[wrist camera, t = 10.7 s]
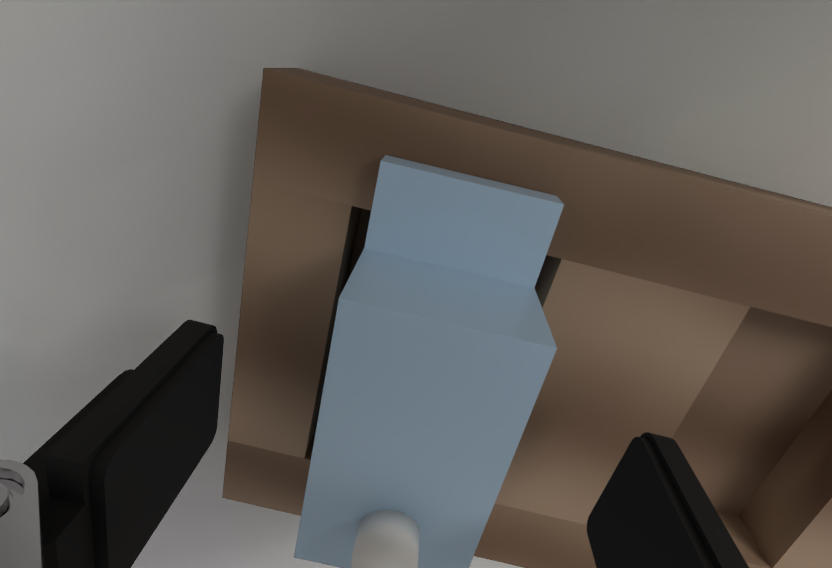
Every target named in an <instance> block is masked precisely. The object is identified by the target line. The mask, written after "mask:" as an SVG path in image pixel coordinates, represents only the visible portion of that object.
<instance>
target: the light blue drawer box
mask: <svg viewBox="0 0 832 568" xmlns="http://www.w3.org/2000/svg"><path fill="white" fill-rule="evenodd" d="M563 207H564V204H563V203H562V201H561V200H560V199H559V198H558V197H557V196H555V195H551V194H547V193H543V192H539V191H534V190H530V189H526V188H522V187H518V186H514V185H509V184H505V183H501V182H497V181H493V180H488V179H484V178H480V177H476V176H472V175H468V174H463V173H459V172H455V171H451V170H447V169H443V168H438V167H434V166H430V165H426V164H422V163H417V162H413V161H409V160H405V159H401V158H397V157H392V156H388V155H385V156H384V157H383V159H382V160H381V162H380V167H379V173H378V178H377V183H376V189H375V194H374V199H373V204H372V210H371V215H370V220H369V226H368V231H367V236H366V241H365V247H364V249H363V251H362V253H361V255H360V257H359V259H358V261H357V263H356V265H355V267H354V269H353V271H352V273H351V275H350V277H349V279H348V281H347V283H346V285H345V287H344V289H343V291H342V293H341V295H340V297H339V301H338V307H337V312H336V318H335V324H334V330H333V335H332V341H331V347H330V353H329V359H328V364H327V370H326V376H325V382H324V387H323V393H322V399H321V405H320V410H319V416H318V422H317V428H316V433H315V439H314V445H313V451H312V456H311V462H310V468H309V474H308V479H307V485H306V491H305V497H304V502H303V508H302V514H301V520H300V525H299V531H298V537H297V543H296V548H295V554H294V557H295V558H299V559H304V560H309V561H313V562H318V563H322V564H327V565H332V566H336V567H341V568H469V566H470V563H471V561H472V558H473V556H474V553H475V551H476V548H477V546H478V543H479V541H480V538H481V536H482V533H483V531H484V528H485V526H486V524H487V521H488V519H489V516H490V514H491V511H492V509H493V506H494V504H495V501H496V499H497V496H498V494H499V491H500V489H501V486H502V484H503V481H504V479H505V476H506V474H507V471H508V469H509V466H510V464H511V462H512V459H513V457H514V454H515V452H516V449H517V447H518V444H519V442H520V439H521V437H522V434H523V432H524V429H525V427H526V424H527V422H528V419H529V417H530V414H531V412H532V409H533V407H534V404H535V402H536V400H537V397H538V395H539V392H540V390H541V387H542V385H543V382H544V380H545V377H546V375H547V372H548V370H549V367H550V365H551V362H552V360H553V357H554V355H555V352H556V350H557V346H556V344H555V341H554V338H553V336H552V333H551V330H550V328H549V325H548V323H547V320H546V317H545V315H544V312H543V309H542V307H541V304H540V301H539V299H538V296H537V293H536V291H535V285H536V282H537V279H538V277H539V274H540V271H541V268H542V265H543V263H544V260H545V257H546V254H547V251H548V249H549V246H550V243H551V240H552V237H553V235H554V232H555V229H556V226H557V224H558V221H559V218H560V215H561V212H562V210H563Z"/></svg>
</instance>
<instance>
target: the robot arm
mask: <svg viewBox="0 0 832 568" xmlns="http://www.w3.org/2000/svg"><path fill="white" fill-rule="evenodd" d="M223 343H224V337H223V335H222V334H218V333H217V329H216V327H215V326H213V325H209V324H205V323H201V322H197V321H193V320H187V321H186V322H184V323H183V324H182V325H181V326H180V327H179V328H178V329H177V330H176V331H175V332H174V333H173V334H172V335H171V336H170V337H168V338H167V339H166V340H165V341H164V342H163V343H162V344H161V345H160V346H159V347H158V348H157V349H156V350H155V351H154V352H153V353H152V354H150V355H149V356H148V357H147V358H146V359H145V360H144V361H143V362H142V363H141V364H140V365H139V366H138V367H137V368H136V369H135V370H131V369H130V370H127V371H124V372H123V373H122V374H120V375H119V376H118V377H117V378H116V379H114V380H113V381H112V382H111V383H110V384H109V385H108V386H107V387H106V388H105V389H104V390H103V391H101V392H100V393H99V394H98V395H97V396H96V397H95V398H94V399H93V400H92V401H91V402H89V403H88V404H87V405H86V406H85V407H84V408H83V409H82V410H81V411H80V412H79V413H77V414H76V415H75V416H74V417H73V418H72V419H71V420H70V421H69V422H68V423H67V424H65V425H64V426H63V427H62V428H61V429H60V430H59V431H58V432H57V433H56V434H55V435H53V436H52V437H51V438H50V439H49V440H48V441H47V442H46V443H45V444H44V445H43V446H41V447H40V448H39V449H38V450H37V451H36V452H35V453H34V454H33V455H32V456H31V457H29V458H28V459H27V460H26V461H25V462H24V463H23V464H22V463H18V462H15V461H8V460H0V568H131V566H132V565H133V563H134V562H135V560H136V558H137V557H138V555H139V554H140V552H141V551H142V549H143V548H144V546H145V545H146V543H147V542H148V540H149V538H150V537H151V535H152V534H153V532H154V531H155V529H156V528H157V526H158V525H159V523H160V522H161V520H162V518H163V517H164V515H165V514H166V512H167V511H168V509H169V508H170V506H171V505H172V503H173V502H174V500H175V498H176V497H177V495H178V494H179V492H180V491H181V489H182V488H183V486H184V485H185V483H186V482H187V480H188V479H189V477H190V475H191V474H192V472H193V471H194V469H195V468H196V466H197V465H198V463H199V462H200V460H201V459H202V457H203V455H204V454H205V452H206V451H207V449H208V448H209V446H210V445H211V443H212V441H213V439H214V436H215V433H216V430H217V420H218V407H219V394H220V382H221V369H222V356H223ZM587 535H588V539H589V542H590V546H591V550H592V553H593V557H594V560H595V564H596V568H749V567H748V565H747V563H746V561H745V560H744V558H743V556H742V554H741V553H740V551H739V549H738V548H737V546H736V544H735V542H734V541H733V539H732V537H731V535H730V534H729V532H728V530H727V529H726V527H725V525H724V523H723V522H722V520H721V518H720V517H719V515H718V513H717V511H716V510H715V508H714V506H713V504H712V503H711V501H710V499H709V498H708V496H707V494H706V492H705V491H704V489H703V487H702V485H701V484H700V482H699V480H698V479H697V477H696V475H695V473H694V472H693V470H692V468H691V466H690V465H689V463H688V461H687V460H686V458H685V456H684V454H683V453H682V451H681V449H680V447H679V446H678V444H677V443H676V441H675V440H674V439H672V438H669V437H665V436H661V435H657V434H653V433H649V432H645V433H643V434H642V435H641V436H640V437H635V438H633V439H632V441H631V443H630V444H629V446H628V448H627V450H626V451H625V453H624V455H623V457H622V458H621V460H620V462H619V464H618V466H617V467H616V469H615V471H614V473H613V474H612V476H611V478H610V480H609V481H608V483H607V485H606V487H605V488H604V490H603V492H602V494H601V496H600V497H599V499H598V501H597V503H596V504H595V506H594V508H593V510H592V511H591V513H590V515H589V517H588V520H587Z"/></svg>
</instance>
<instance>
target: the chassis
mask: <svg viewBox="0 0 832 568" xmlns="http://www.w3.org/2000/svg"><path fill="white" fill-rule="evenodd" d="M385 155H388V156H392V157H397V158H401V159H405V160H409V161H413V162H417V163H422V164H426V165H430V166H434V167H438V168H443V169H447V170H451V171H455V172H459V173H463V174H468V175H472V176H476V177H480V178H484V179H488V180H493V181H497V182H501V183H505V184H509V185H514V186H518V187H522V188H526V189H530V190H534V191H539V192H543V193H547V194H551V195H555V196H557V197H558V198H559V199H560V200H561V201H562V203H563V204H564V207H563V210H562V212H561V215H560V218H559V221H558V224H557V226H556V229H555V232H554V235H553V237H552V240H551V243H550V246H549V249H548V251H547V254H546V257H545V260H544V263H543V265H542V268H541V271H540V274H539V277H538V279H537V282H536V285H535V291H536V293H537V296H538V299H539V301H540V304H541V307H542V309H543V312H544V315H545V317H546V320H547V323H548V325H549V328H550V330H551V333H552V336H553V338H554V341H555V344H556V346H557V350H556V352H555V355H554V357H553V360H552V362H551V365H550V367H549V370H548V372H547V375H546V377H545V380H544V382H543V385H542V387H541V390H540V392H539V395H538V397H537V400H536V402H535V404H534V407H533V409H532V412H531V414H530V417H529V419H528V422H527V424H526V427H525V429H524V432H523V434H522V437H521V439H520V442H519V444H518V447H517V449H516V452H515V454H514V457H513V459H512V462H511V464H510V466H509V469H508V471H507V474H506V476H505V479H504V481H503V484H502V486H501V489H500V491H499V494H498V496H497V499H496V501H495V504H494V506H493V509H492V511H491V514H490V516H489V519H488V521H487V524H486V526H485V528H484V531H483V533H482V536H481V538H480V541H479V543H478V546H477V548H476V551H475V553H474V556H477V557H481V558H486V559H490V560H494V561H499V562H503V563H507V564H512V565H516V566H520V567H524V568H596V564H595V560H594V557H593V553H592V550H591V546H590V542H589V539H588V535H587V520H588V517H589V515H590V513H591V511H592V510H593V508H594V506H595V504H596V503H597V501H598V499H599V497H600V496H601V494H602V492H603V490H604V488H605V487H606V485H607V483H608V481H609V480H610V478H611V476H612V474H613V473H614V471H615V469H616V467H617V466H618V464H619V462H620V460H621V458H622V457H623V455H624V453H625V451H626V450H627V448H628V446H629V444H630V443H631V441H632V439H633V438H635V437H640V436H641V435H642V434H643V433H645V432H649V433H653V434H657V435H661V436H665V437H669V438H672V439H674V440H675V441H676V443H677V444H678V446H679V447H680V449H681V451H682V453H683V454H684V456H685V458H686V460H687V461H688V463H689V465H690V466H691V468H692V470H693V472H694V473H695V475H696V477H697V479H698V480H699V482H700V484H701V485H702V487H703V489H704V491H705V492H706V494H707V496H708V498H709V499H710V501H711V503H712V504H713V506H714V508H715V510H716V511H717V513H718V515H719V517H720V518H721V520H722V522H723V523H724V525H725V527H726V529H727V530H728V532H729V534H730V535H731V537H732V539H733V541H734V542H735V544H736V546H737V548H738V549H739V551H740V553H741V554H742V556H743V558H744V560H745V561H746V563H747V565H748V567H749V568H832V207H828V206H824V205H820V204H816V203H812V202H809V201H805V200H801V199H797V198H793V197H789V196H786V195H782V194H778V193H774V192H770V191H766V190H763V189H759V188H755V187H751V186H747V185H743V184H740V183H736V182H732V181H728V180H724V179H720V178H717V177H713V176H709V175H705V174H701V173H697V172H694V171H690V170H686V169H682V168H678V167H674V166H671V165H667V164H663V163H659V162H655V161H651V160H648V159H644V158H640V157H636V156H632V155H628V154H625V153H621V152H617V151H613V150H609V149H605V148H602V147H598V146H594V145H590V144H586V143H582V142H579V141H575V140H571V139H567V138H563V137H559V136H556V135H552V134H548V133H544V132H540V131H537V130H533V129H529V128H525V127H521V126H517V125H514V124H510V123H506V122H502V121H498V120H494V119H491V118H487V117H483V116H479V115H475V114H471V113H468V112H464V111H460V110H456V109H452V108H448V107H445V106H441V105H437V104H433V103H429V102H425V101H422V100H418V99H414V98H410V97H406V96H402V95H399V94H395V93H391V92H387V91H383V90H379V89H376V88H372V87H368V86H364V85H360V84H356V83H353V82H349V81H345V80H341V79H337V78H333V77H330V76H326V75H322V74H318V73H314V72H310V71H307V70H303V69H299V68H264V69H263V80H262V90H261V101H260V111H259V121H258V132H257V142H256V153H255V163H254V174H253V184H252V194H251V205H250V215H249V226H248V236H247V246H246V257H245V267H244V278H243V288H242V298H241V309H240V319H239V330H238V340H237V351H236V361H235V371H234V382H233V392H232V403H231V413H230V423H229V434H228V444H227V455H226V465H225V475H224V486H223V496H222V498H227V499H231V500H235V501H239V502H244V503H248V504H252V505H257V506H261V507H265V508H270V509H274V510H278V511H283V512H287V513H291V514H296V515H300V516H301V514H302V508H303V502H304V497H305V491H306V485H307V479H308V474H309V468H310V462H311V456H312V451H313V445H314V439H315V433H316V428H317V422H318V416H319V410H320V405H321V399H322V393H323V387H324V382H325V376H326V370H327V364H328V359H329V353H330V347H331V341H332V335H333V330H334V324H335V318H336V312H337V307H338V301H339V297H340V295H341V293H342V291H343V289H344V287H345V285H346V283H347V281H348V279H349V277H350V275H351V273H352V271H353V269H354V267H355V265H356V263H357V261H358V259H359V257H360V255H361V253H362V251H363V249H364V247H365V241H366V236H367V231H368V226H369V220H370V215H371V210H372V204H373V199H374V194H375V189H376V183H377V178H378V173H379V167H380V162H381V160H382V159H383V157H384V156H385Z"/></svg>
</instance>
